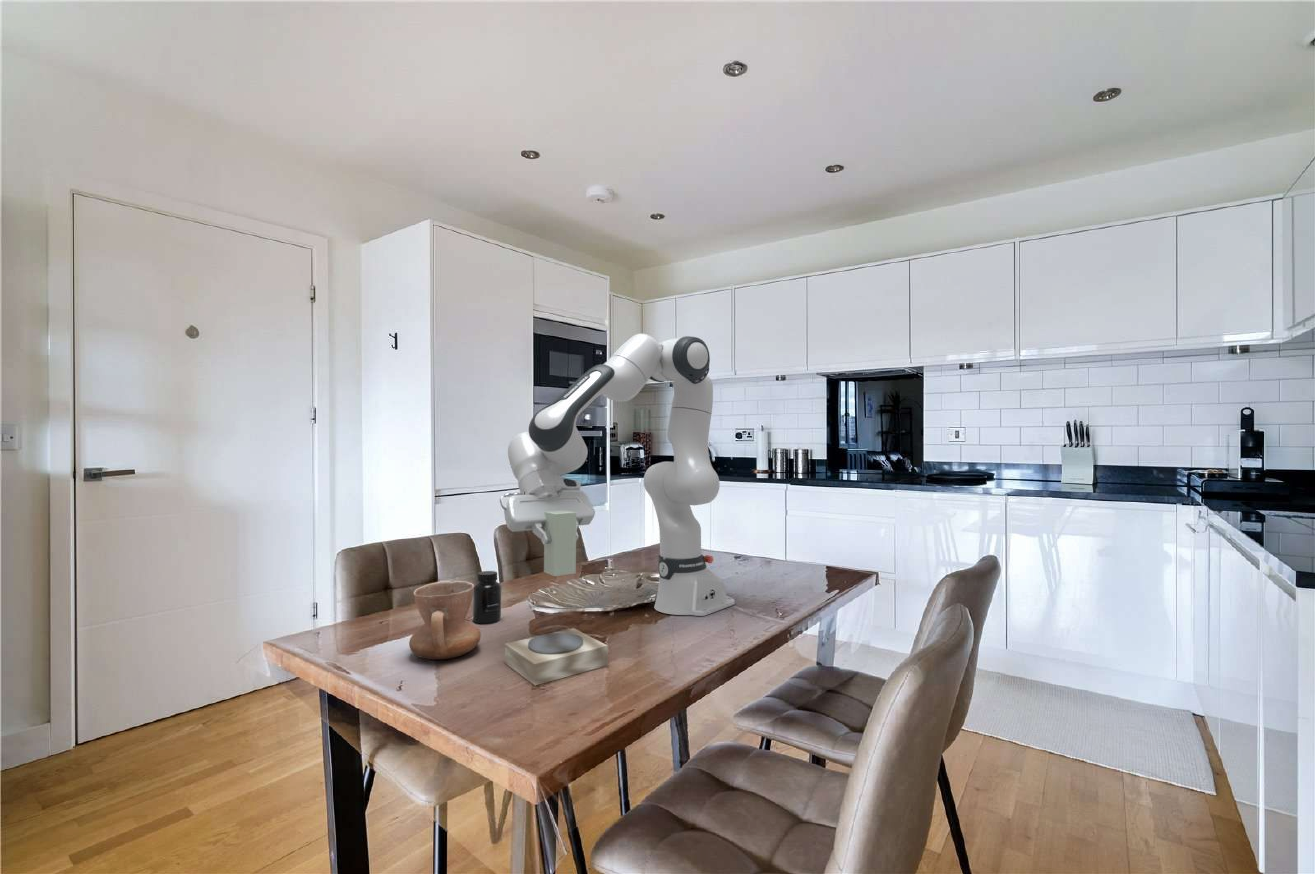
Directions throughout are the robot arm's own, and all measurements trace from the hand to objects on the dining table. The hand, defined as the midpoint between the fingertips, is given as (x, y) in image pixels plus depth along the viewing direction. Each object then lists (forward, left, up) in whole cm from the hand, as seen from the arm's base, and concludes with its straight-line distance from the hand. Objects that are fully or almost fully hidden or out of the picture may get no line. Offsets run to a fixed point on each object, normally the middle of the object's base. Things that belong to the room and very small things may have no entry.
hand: (561, 541), depth 130 cm
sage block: (0, -1, -7) cm, 7 cm away
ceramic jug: (+20, -15, -24) cm, 35 cm away
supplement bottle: (+4, -32, -24) cm, 40 cm away
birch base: (+4, +5, -24) cm, 25 cm away
